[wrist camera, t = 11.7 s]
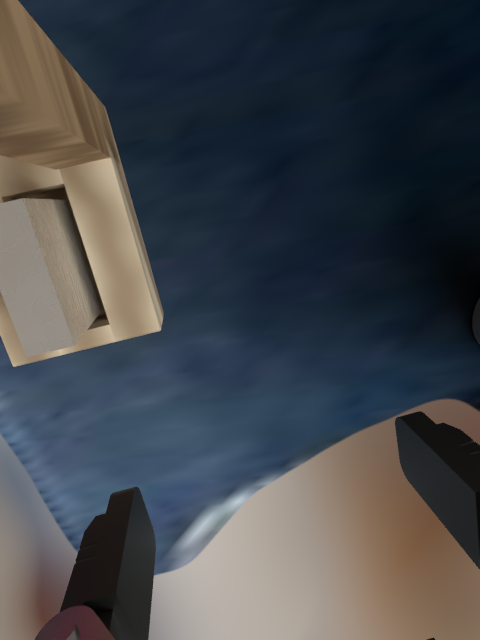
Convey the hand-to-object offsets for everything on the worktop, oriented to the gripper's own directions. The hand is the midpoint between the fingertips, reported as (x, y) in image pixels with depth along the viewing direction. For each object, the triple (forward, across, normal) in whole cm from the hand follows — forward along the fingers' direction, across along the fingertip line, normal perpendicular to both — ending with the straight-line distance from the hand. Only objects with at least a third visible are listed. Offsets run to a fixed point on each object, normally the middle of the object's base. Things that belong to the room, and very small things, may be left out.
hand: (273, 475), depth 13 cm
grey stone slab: (+27, +11, -6) cm, 30 cm away
